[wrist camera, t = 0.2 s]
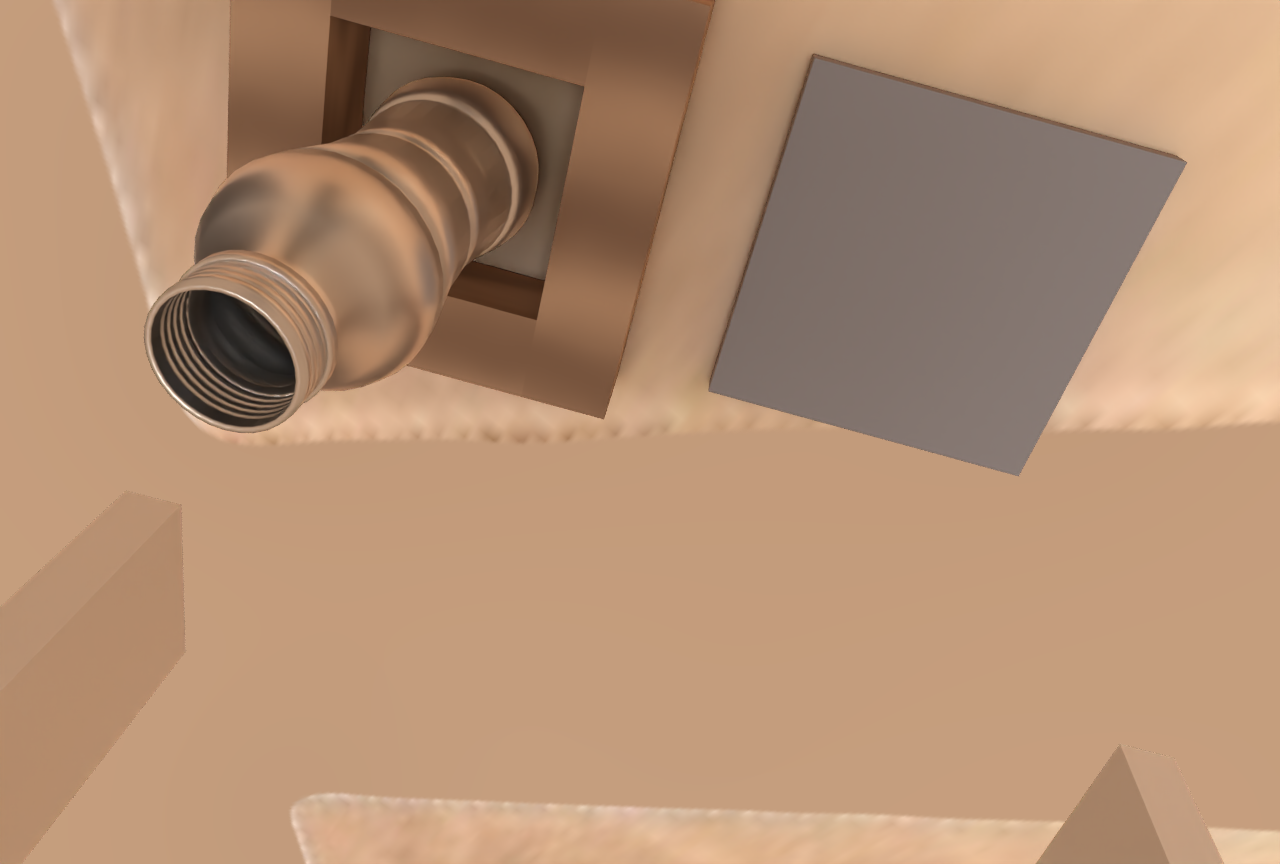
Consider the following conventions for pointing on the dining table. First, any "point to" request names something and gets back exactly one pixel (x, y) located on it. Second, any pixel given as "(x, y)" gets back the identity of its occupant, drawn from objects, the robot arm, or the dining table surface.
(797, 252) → the charcoal mat
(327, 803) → the dining table surface
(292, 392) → the plastic bottle
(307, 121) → the walnut block
